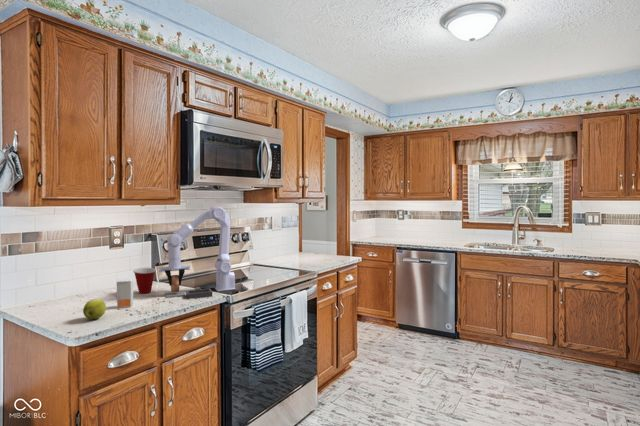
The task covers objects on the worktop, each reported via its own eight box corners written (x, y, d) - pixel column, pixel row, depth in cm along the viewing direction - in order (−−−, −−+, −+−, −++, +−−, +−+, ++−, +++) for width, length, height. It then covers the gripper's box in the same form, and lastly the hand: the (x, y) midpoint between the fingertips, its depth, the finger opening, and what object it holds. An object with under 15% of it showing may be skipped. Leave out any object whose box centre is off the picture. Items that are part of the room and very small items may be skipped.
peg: (178, 290, 209) (178, 274, 208) (180, 291, 205) (179, 275, 205) (170, 291, 207) (170, 275, 207) (171, 292, 203) (171, 276, 203)
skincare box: (116, 308, 182) (116, 281, 182) (119, 305, 187) (118, 279, 186) (131, 307, 184) (130, 280, 183) (133, 304, 188) (133, 279, 187)
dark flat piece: (209, 292, 211) (209, 286, 211) (212, 296, 203) (212, 290, 203) (185, 295, 206) (185, 288, 206) (187, 299, 198) (187, 292, 198)
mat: (183, 292, 212) (183, 290, 212) (185, 295, 204) (185, 294, 204) (165, 293, 208) (165, 292, 208) (166, 297, 200) (166, 296, 200)
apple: (110, 315, 172) (109, 296, 171) (99, 322, 162) (98, 302, 162) (91, 315, 171) (90, 296, 171) (79, 322, 162) (78, 302, 162)
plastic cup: (141, 296, 204) (141, 272, 203) (129, 293, 210) (128, 270, 210) (161, 291, 213) (160, 268, 212) (148, 289, 219) (148, 266, 219)
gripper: (159, 260, 199) (160, 288, 199) (190, 258, 205) (191, 285, 205) (158, 258, 205) (159, 285, 206) (188, 256, 211) (189, 282, 212)
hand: (175, 285), depth 206 cm, fingers closed on peg, 4 cm apart
